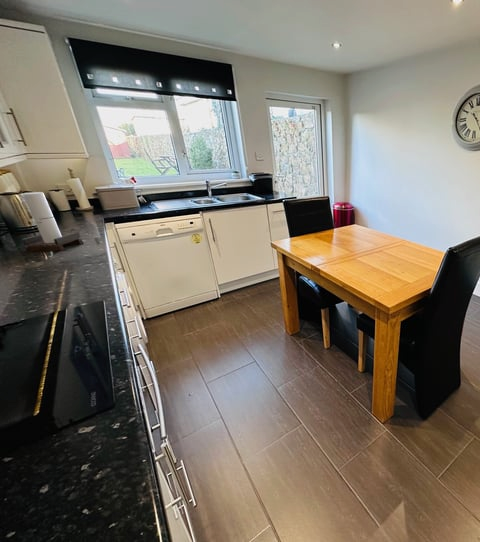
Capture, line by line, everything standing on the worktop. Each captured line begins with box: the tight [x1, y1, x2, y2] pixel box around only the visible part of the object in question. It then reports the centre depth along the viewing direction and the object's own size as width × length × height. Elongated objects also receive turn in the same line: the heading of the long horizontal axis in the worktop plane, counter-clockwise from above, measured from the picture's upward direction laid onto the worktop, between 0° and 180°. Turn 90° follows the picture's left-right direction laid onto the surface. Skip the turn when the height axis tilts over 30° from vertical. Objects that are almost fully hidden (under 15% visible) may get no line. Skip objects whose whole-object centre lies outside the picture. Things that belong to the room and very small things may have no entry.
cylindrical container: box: [22, 191, 63, 243], centre depth 145 cm, size 7×7×25 cm
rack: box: [21, 231, 84, 253], centre depth 151 cm, size 16×14×7 cm
